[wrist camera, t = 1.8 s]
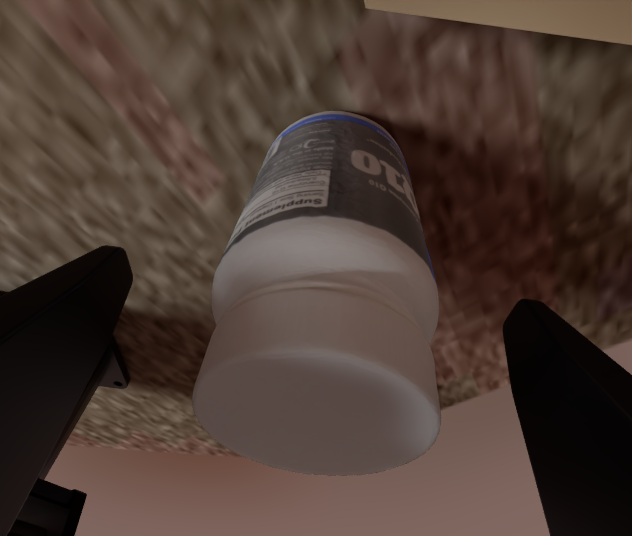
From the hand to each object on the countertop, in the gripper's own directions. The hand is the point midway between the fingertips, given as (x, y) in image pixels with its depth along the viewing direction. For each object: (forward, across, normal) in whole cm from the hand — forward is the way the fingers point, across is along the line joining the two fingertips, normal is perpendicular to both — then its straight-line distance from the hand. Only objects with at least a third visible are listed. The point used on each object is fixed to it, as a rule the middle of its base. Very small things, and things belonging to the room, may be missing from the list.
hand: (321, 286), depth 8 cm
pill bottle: (+5, 0, 0) cm, 5 cm away
